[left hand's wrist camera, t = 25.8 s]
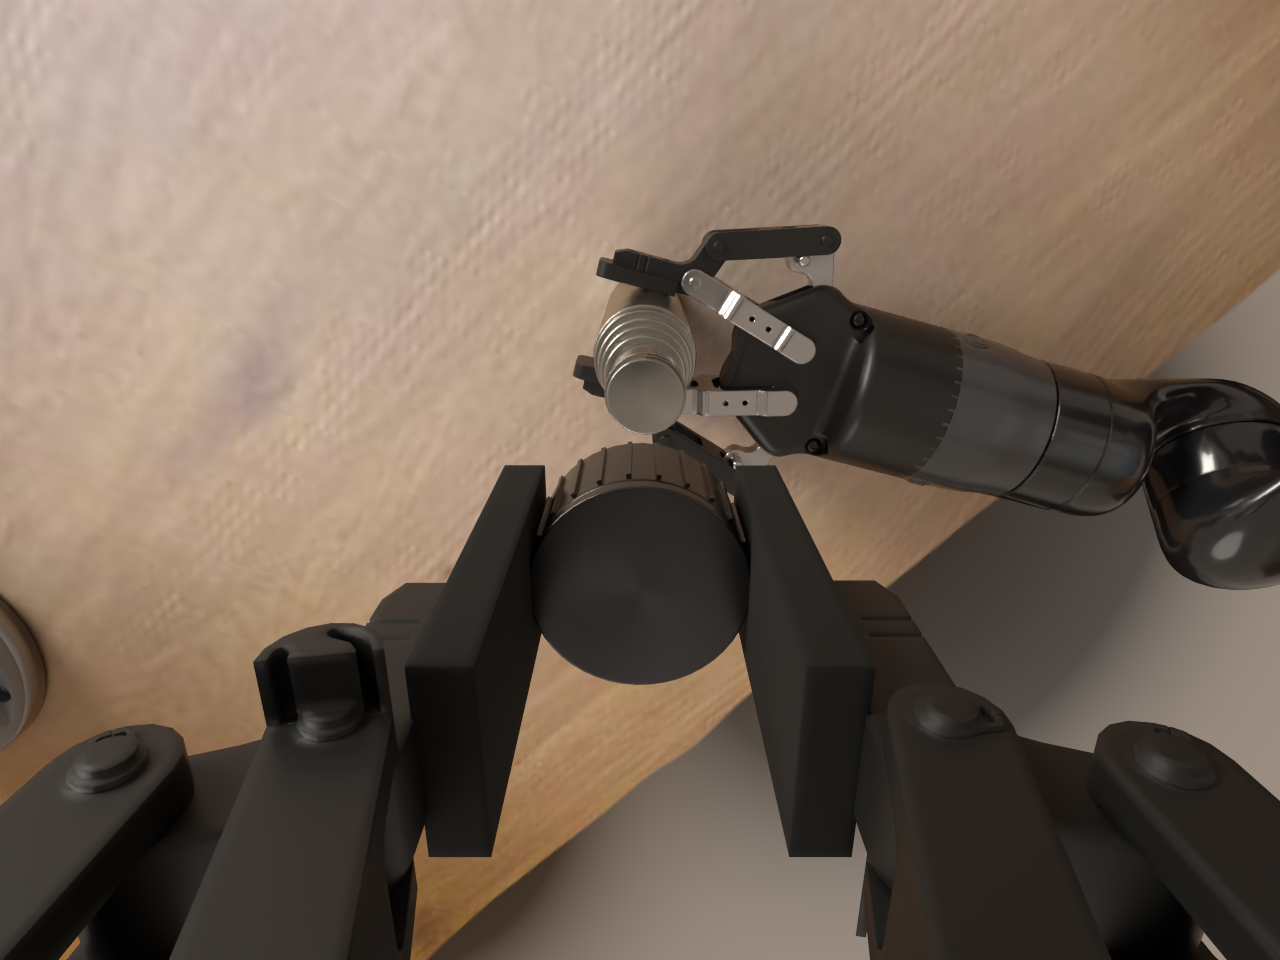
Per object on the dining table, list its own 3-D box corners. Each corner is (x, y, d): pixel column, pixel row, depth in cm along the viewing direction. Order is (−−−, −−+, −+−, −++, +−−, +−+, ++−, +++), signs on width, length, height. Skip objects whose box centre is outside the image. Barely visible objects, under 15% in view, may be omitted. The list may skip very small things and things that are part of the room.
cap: (746, 443, 14) (765, 487, 12) (730, 621, 15) (745, 691, 13) (540, 436, 14) (522, 480, 12) (542, 615, 15) (526, 684, 13)
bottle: (675, 354, 43) (698, 466, 25) (602, 344, 42) (574, 449, 25) (687, 280, 41) (720, 342, 24) (611, 269, 41) (588, 324, 23)
